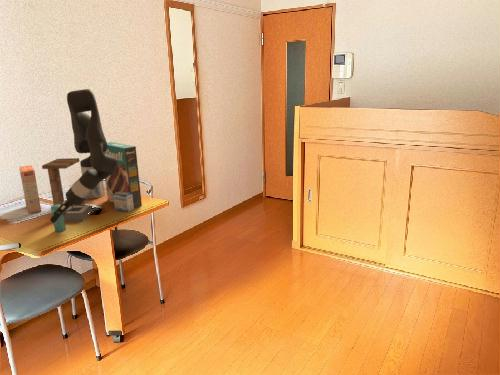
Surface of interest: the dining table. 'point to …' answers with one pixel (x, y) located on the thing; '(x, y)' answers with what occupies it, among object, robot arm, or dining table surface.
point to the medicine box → (123, 201)
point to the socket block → (77, 213)
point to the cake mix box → (123, 172)
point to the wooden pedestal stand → (58, 177)
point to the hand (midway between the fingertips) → (56, 217)
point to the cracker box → (30, 189)
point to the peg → (60, 223)
